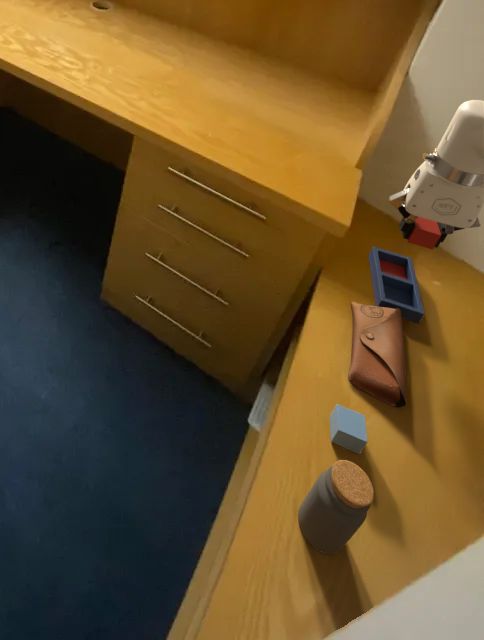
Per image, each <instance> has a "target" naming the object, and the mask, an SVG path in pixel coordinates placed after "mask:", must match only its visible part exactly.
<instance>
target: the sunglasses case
mask: <svg viewBox="0 0 484 640" xmlns="http://www.w3.org/2000/svg"><path fill="white" fill-rule="evenodd" d="M350 308H351V316H352V332H351V333H352V334H351V354H350V365H349V370H348V375H347V380H348V382H349V383H350V384H351V385H352V386H354V387H356V388H357V389H359V390H361V391H362V392H364V393H366V394H368V395H369V396H371V397H373V398H375V399H377V400H379V401H381V402H383V403H385V404H387V405H389V406H390V407H393V408H398V409H399V408H405V407H406V405H407V374H406V356H405V354H406V353H405V338H404V337H405V336H404V325H403V320H402V319H403V318H401V311H400V309H398V308H396V309H393V308H387V307H379V306H376V305H372V304H365V303H359V302H356V301H354V300H352V301H350Z"/></svg>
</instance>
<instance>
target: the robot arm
mask: <svg viewBox="0 0 484 640" xmlns="http://www.w3.org/2000/svg"><path fill="white" fill-rule="evenodd" d="M451 118H452V119H451V120H450V123H449V124H448V126H447V128H446V129H445V132H444V134H443V135H442V137H441V139H440V141H439V143H438V145H437V146H436V148H434V149H433V151H432V152H423V154H422V160H423V162H422V163H421V164H420V165H419V166H418V167H417V169H416V170H415V171H414V172H413V174H412V175H411V176H410V178H409V180H408V181H407V183H406V185H404V188H403V190H400V191H399V192H396V193H394V194H392V195H389V196H388V201H389V204H390V205H391V206H393V207H394V208H395V209H397V210H398V212H399V213H400V215H401V216H402V218H401V220H400V222H399V224H398V230H399V231H401V235H402V238H403V239H404V240H407V239H408V238H409V236H410V234H411V232H412V230H413V229H414V227H415V223H414V221H415V220H416V219H417V218H418V217H422V218H425V219H429V220H432V221H436V222H437V223H438V227H439V230H440V233H441V236H440V238H439V240H438V241H437V243H436V245H435V246H434V248H436V249H437V248H438V247H440V245H441V243H444V242H445V240H446V238H447V236H448V235H452V234H454V232H458V231H461V230H465V229H471V228H479V227H481V222H480V219H479V218H478V217H479V214H480V213H481V210H482V208H483V206H484V100H482V99H470V100H467V101H464V102H462V103H461V104H460V105H459V106H458V108H457V109H456V111H455V112H454V114H453V117H451Z"/></svg>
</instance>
